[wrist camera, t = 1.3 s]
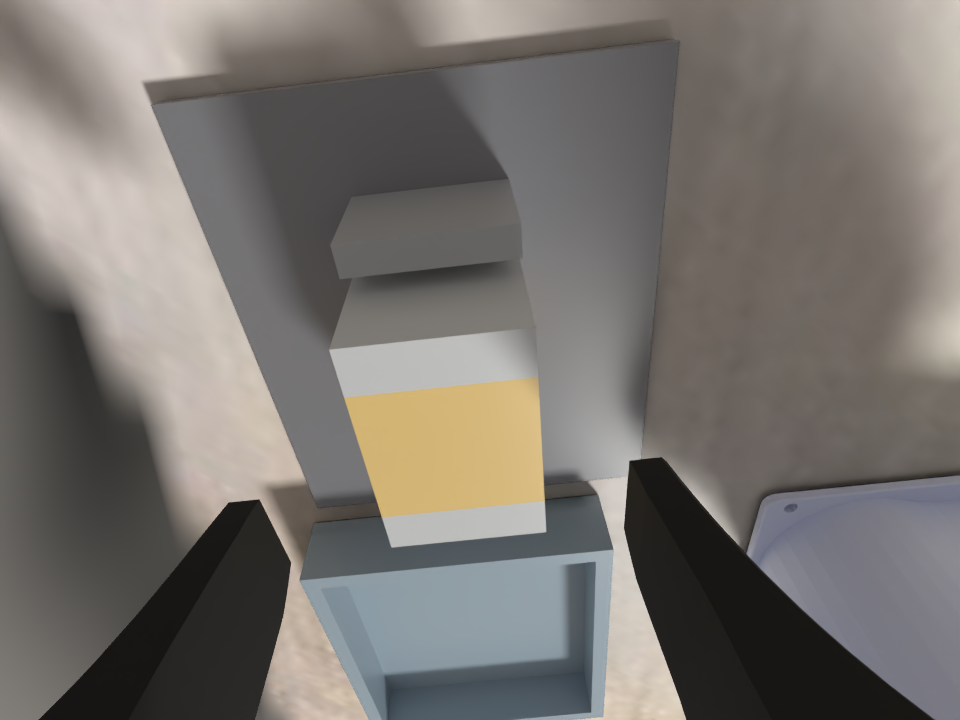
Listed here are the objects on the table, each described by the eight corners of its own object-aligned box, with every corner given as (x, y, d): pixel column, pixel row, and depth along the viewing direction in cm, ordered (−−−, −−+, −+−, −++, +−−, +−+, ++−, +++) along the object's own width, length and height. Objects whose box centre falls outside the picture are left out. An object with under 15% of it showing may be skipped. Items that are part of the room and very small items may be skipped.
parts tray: (598, 494, 21) (613, 549, 19) (592, 664, 29) (603, 716, 27) (313, 523, 22) (299, 580, 20) (382, 684, 29) (377, 737, 27)
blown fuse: (512, 227, 15) (536, 327, 11) (525, 406, 18) (546, 532, 14) (363, 244, 15) (329, 350, 11) (404, 419, 18) (391, 547, 14)
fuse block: (673, 39, 13) (736, 58, 10) (636, 467, 21) (664, 544, 18) (158, 101, 13) (78, 137, 10) (320, 499, 21) (299, 580, 18)
